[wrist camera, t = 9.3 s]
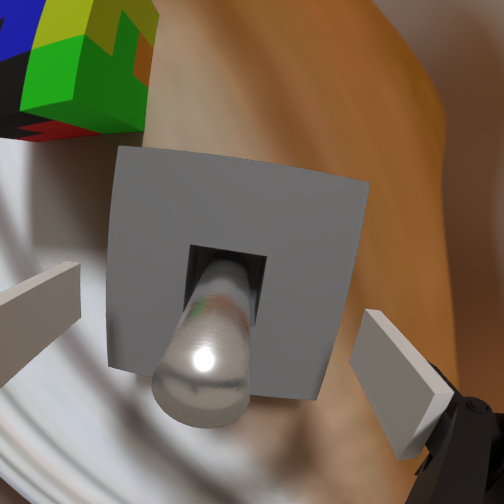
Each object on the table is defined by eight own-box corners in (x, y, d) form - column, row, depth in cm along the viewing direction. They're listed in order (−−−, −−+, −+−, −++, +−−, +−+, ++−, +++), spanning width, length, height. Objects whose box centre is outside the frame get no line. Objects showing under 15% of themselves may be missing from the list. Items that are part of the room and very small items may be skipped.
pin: (204, 288, 21) (152, 418, 8) (209, 247, 21) (152, 343, 8) (246, 294, 21) (242, 433, 8) (252, 253, 21) (258, 360, 8)
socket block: (132, 334, 24) (108, 366, 19) (146, 153, 21) (118, 145, 16) (305, 362, 24) (316, 400, 19) (345, 183, 21) (370, 183, 16)
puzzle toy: (55, 36, 18) (-12, -6, 9) (159, 14, 19) (114, -59, 9) (38, 142, 20) (-49, 132, 11) (144, 131, 21) (72, 99, 11)
